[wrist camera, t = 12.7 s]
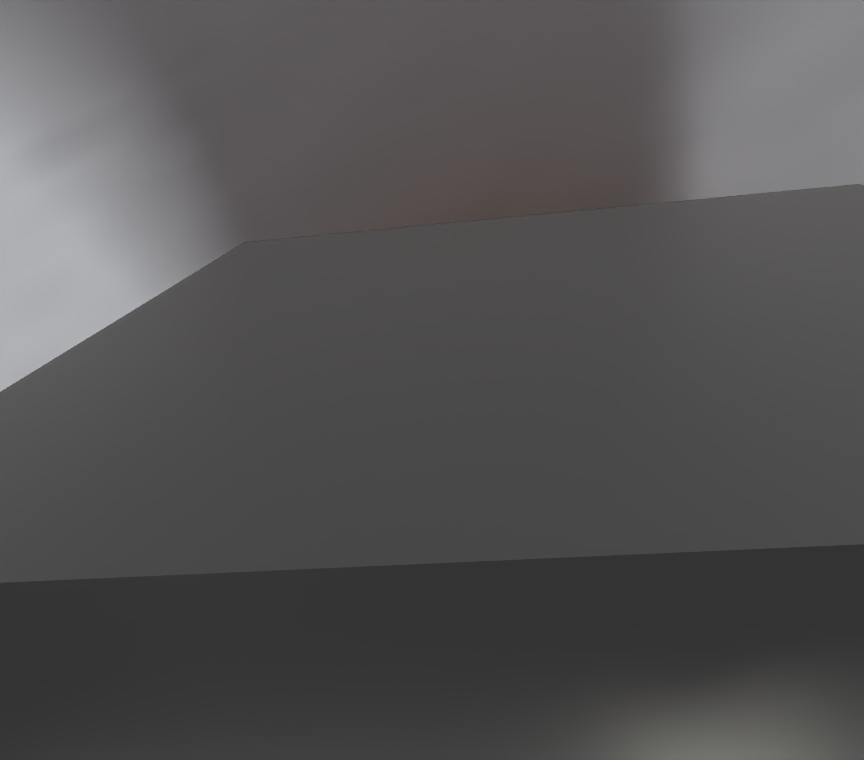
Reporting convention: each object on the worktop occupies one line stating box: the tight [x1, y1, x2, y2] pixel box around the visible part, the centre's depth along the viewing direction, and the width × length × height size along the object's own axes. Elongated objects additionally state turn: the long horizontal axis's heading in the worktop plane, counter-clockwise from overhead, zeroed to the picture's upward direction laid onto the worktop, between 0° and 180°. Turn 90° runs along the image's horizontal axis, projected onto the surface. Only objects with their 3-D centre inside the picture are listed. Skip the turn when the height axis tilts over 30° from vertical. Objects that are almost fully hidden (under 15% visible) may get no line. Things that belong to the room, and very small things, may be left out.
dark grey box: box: [0, 184, 864, 760], centre depth 7 cm, size 8×8×7 cm
